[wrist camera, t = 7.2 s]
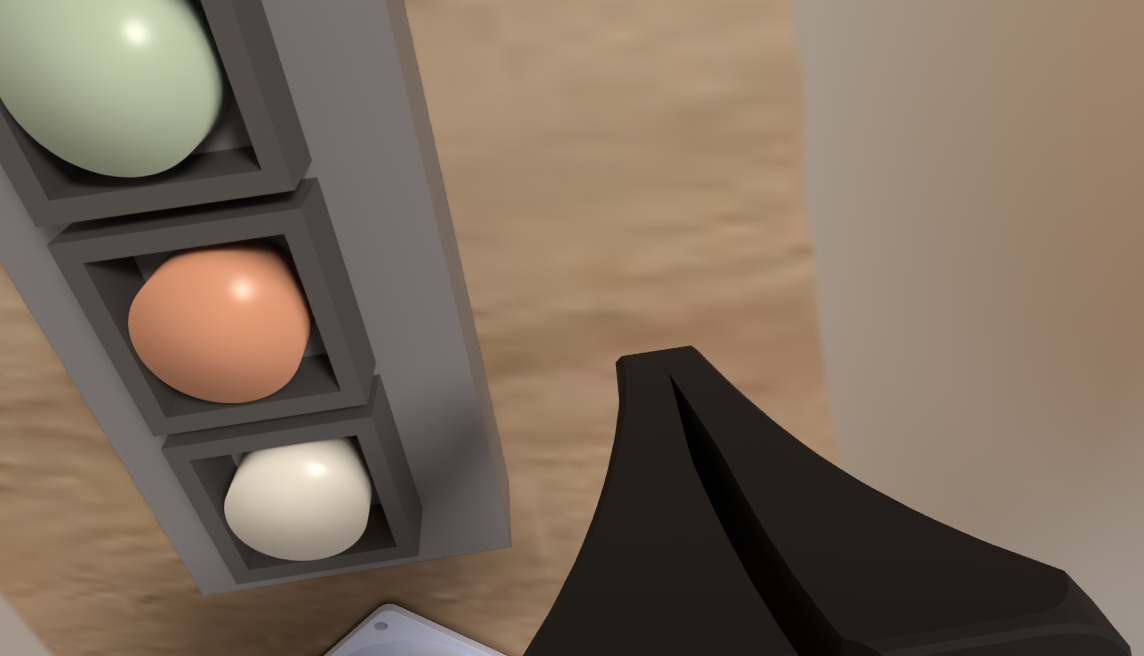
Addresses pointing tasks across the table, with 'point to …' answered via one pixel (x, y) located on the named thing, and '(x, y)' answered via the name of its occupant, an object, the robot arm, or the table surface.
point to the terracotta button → (223, 321)
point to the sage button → (113, 80)
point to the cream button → (301, 499)
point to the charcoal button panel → (329, 276)
